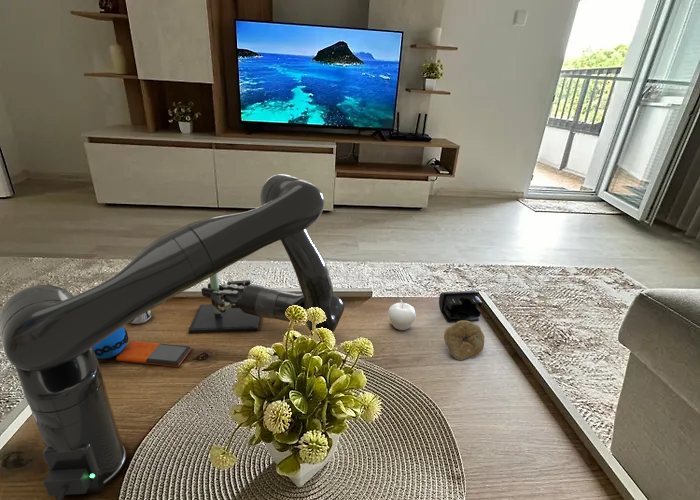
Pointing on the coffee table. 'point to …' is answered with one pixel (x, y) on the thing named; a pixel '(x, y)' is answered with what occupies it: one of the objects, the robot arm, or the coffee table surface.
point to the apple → (401, 315)
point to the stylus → (215, 286)
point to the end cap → (460, 306)
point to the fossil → (464, 340)
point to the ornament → (111, 344)
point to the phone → (154, 353)
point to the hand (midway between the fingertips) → (205, 289)
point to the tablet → (223, 321)
